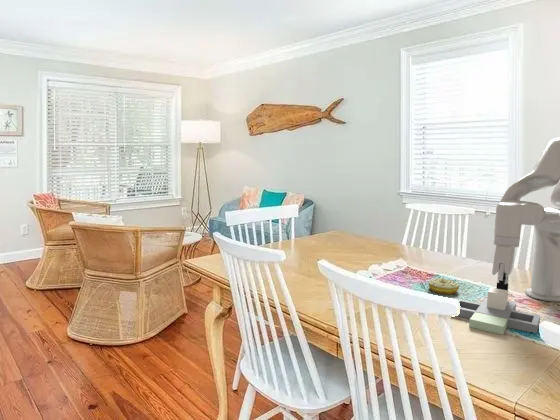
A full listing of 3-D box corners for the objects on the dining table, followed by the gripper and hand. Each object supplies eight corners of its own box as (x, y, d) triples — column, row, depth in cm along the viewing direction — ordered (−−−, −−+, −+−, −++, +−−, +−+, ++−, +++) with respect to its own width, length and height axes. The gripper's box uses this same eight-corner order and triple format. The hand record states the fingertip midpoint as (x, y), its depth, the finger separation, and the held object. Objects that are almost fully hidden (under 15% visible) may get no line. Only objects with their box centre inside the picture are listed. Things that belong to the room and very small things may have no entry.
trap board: (462, 299, 150) (462, 292, 150) (542, 315, 136) (543, 308, 136) (443, 320, 132) (443, 312, 131) (533, 341, 118) (534, 333, 117)
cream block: (489, 302, 140) (491, 287, 140) (506, 305, 138) (508, 290, 137) (486, 306, 136) (487, 291, 136) (504, 310, 134) (505, 294, 133)
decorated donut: (458, 288, 163) (459, 278, 162) (458, 297, 153) (459, 287, 152) (429, 284, 166) (429, 275, 166) (427, 293, 156) (428, 283, 156)
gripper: (498, 235, 149) (493, 286, 152) (489, 242, 137) (484, 298, 140) (522, 238, 144) (517, 291, 147) (515, 246, 133) (510, 303, 135)
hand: (501, 294), depth 143 cm, fingers closed
